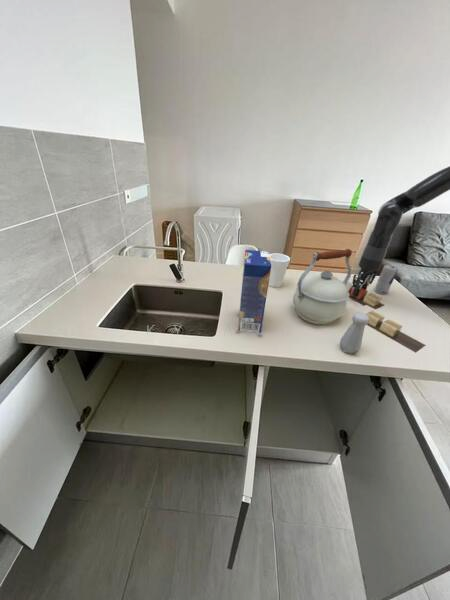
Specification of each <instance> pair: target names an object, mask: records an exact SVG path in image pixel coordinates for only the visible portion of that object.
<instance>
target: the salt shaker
mask: <svg viewBox="0 0 450 600" xmlns="http://www.w3.org/2000/svg"><path fill="white" fill-rule="evenodd" d="M351 321H352V323H351V324H350V325H349V327H348V328H347V329H346V331H345V332H344V333H343V335H342V336H341V337H340V340H339V344H340V349H341V350H342V352H344V353H347V354H350V355H352V354H355V353H356V352H357V351H359V350H360V349H361V347H362V343H363V337H364V333H365V327H366V326H368V325H367V324H368V323H369V317H368V316H367V315H366V313H364V312H359V311H358V312H354V313H353V314H352V317H351Z"/></svg>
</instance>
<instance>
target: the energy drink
mask: <svg viewBox="0 0 450 600" xmlns="http://www.w3.org/2000/svg"><path fill="white" fill-rule="evenodd" d="M398 271H399V268H398V267H397V266H395V265H391V264H385V265H384V266H383V268H382V270H381V273H380V274H379V277H378V279H377V282H376V284H375V286H374V292H375V293H377V294H379V295H387V294H388V293H389V291H390V288H391V286H392V284H393V282H394V280H395V278H396V275H397V273H398Z"/></svg>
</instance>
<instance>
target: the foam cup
mask: <svg viewBox="0 0 450 600" xmlns="http://www.w3.org/2000/svg"><path fill="white" fill-rule="evenodd" d="M269 256H270V261H271V272H270V278H269V284H268V287H271V288H280V287H281V286H282V285H283V282H284V278H285V276H286V273H287V270H288V267H289V265H290V262H291V258H290V256H288V255H287V254H283V253H278V252H277V253H276V252H275V253H269Z"/></svg>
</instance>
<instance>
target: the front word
mask: <svg viewBox="0 0 450 600" xmlns="http://www.w3.org/2000/svg"><path fill="white" fill-rule="evenodd" d="M365 314H366V315H367V316H368V317H369V323H368V324H367V325H366V326H368V327H369V328H371V329H373V330H375V331H376V332H378V333H380V334H382V335H383V336H385V337H387V338H389V339H390V340H392V341H394V342H396V343H397V344H399V345H401V346H403V347H404V348H406V349H408V350H410V351H412V352H414V353H417V352H419V351H420V350H421V349H423V348H424V347H426V346H427V345H426V344H424V343H423V342H421V341H419V340H417V339H415V338H414V337H412V336H410V335H408V334H406V333H405V332H402V331H401V330H402V328H403V325H402V324H400V323H398V322H396V321H394V320H393V319H390V318H388V319H387V320H385V316H384V315H383V314H382V313H381V314H380V313H379V312H378V311H377V312H376V311H375V310H370V311H368V312H367V313H365Z"/></svg>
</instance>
